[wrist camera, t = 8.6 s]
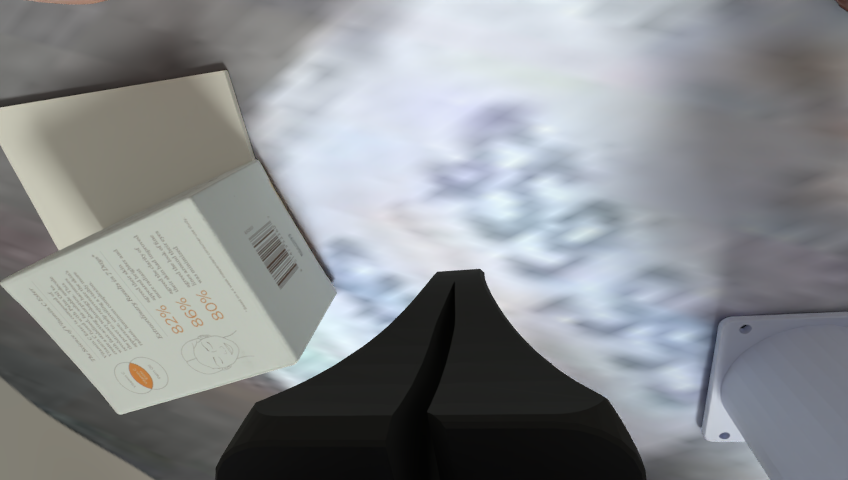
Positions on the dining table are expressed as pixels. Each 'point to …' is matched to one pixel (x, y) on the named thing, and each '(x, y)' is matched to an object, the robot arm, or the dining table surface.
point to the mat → (122, 149)
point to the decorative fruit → (69, 1)
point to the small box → (182, 293)
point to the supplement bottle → (843, 4)
